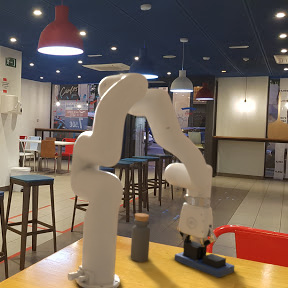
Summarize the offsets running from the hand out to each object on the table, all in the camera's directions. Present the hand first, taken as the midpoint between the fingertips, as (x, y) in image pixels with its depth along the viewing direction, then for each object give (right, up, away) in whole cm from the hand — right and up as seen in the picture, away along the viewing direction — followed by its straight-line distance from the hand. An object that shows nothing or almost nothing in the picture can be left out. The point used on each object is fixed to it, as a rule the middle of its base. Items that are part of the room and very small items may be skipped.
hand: (194, 254), depth 125 cm
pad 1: (0, -1, 0) cm, 1 cm away
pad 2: (+4, -3, -6) cm, 8 cm away
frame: (+2, -3, -3) cm, 4 cm away
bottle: (-18, -2, +1) cm, 18 cm away
